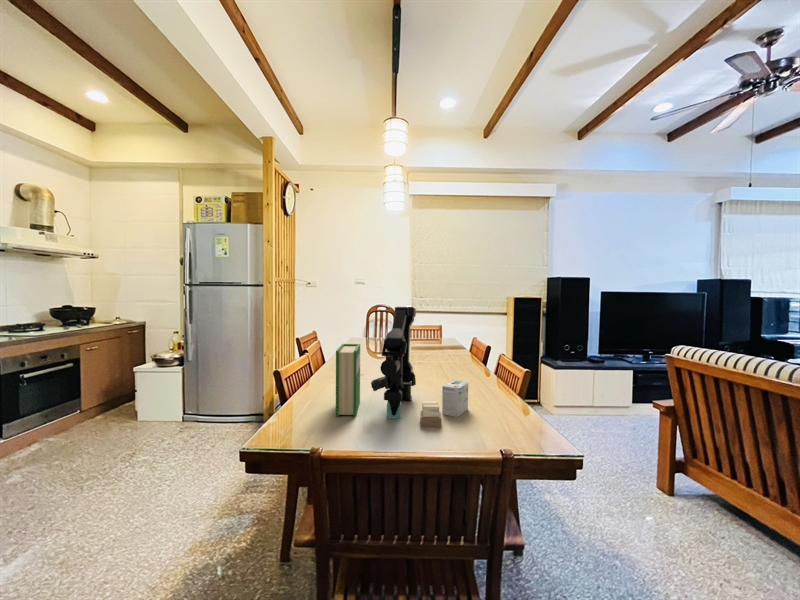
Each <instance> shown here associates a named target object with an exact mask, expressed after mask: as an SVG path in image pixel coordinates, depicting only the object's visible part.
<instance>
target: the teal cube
mask: <svg viewBox="0 0 800 600" xmlns="http://www.w3.org/2000/svg"><path fill="white" fill-rule="evenodd" d="M386 418H387V419H401V418H402V401H401V402H400V405H399V407H398V410H397V412H396V415H392V412H391V407H390V403H389V401H387V403H386Z"/></svg>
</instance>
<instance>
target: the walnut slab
mask: <svg viewBox="0 0 800 600" xmlns="http://www.w3.org/2000/svg"><path fill="white" fill-rule="evenodd" d="M419 414H420V428H436V429H437V428H441V429H442V425H443V424H442V422H443V421H442V411H440V410H439V417H423V412H422V410H420V413H419Z"/></svg>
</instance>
